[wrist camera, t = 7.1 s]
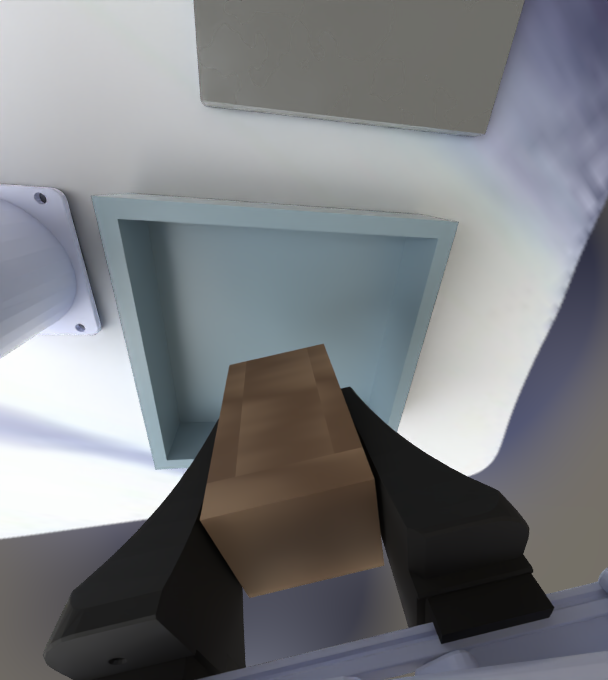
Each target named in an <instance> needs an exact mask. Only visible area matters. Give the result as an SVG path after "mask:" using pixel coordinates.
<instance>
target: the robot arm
mask: <svg viewBox="0 0 608 680" xmlns="http://www.w3.org/2000/svg"><path fill="white" fill-rule="evenodd" d="M40 193H42V194H43V195H44V196H45V197H46V200H47V202H46V203H44V202H42V201H41V199H40ZM79 324H82V325H83V326H84V327H85V329H82V328H81V327H80V326H79ZM100 330H101V323H100V320H99V316H98V312H97V308H96V305H95V301H94V297H93V294H92V290H91V286H90V283H89V279H88V275H87V271H86V268H85V264H84V260H83V257H82V253H81V249H80V246H79V242H78V238H77V234H76V231H75V227H74V223H73V220H72V216H71V212H70V209H69V205H68V201H67V198H66V196H65V195H64V194H63V192H62V191H60V190H58V189H56V188H50V187H36V186H23V185H9V184H0V359H1V358H2V357H4V356H5V355H7V354H8V353H10V352H11V351H13V350H14V349H16V348H17V347H19V346H20V345H22V344H23V343H25V342H26V341H28V340H29V339H31V338H32V337H34V336H35V335H95V334H97V333H98V332H99V331H100ZM341 391H342V394H343V396H344V399H345V402H346V404H347V407H348V410H349V412H350V415H351V418H352V420H353V423H354V426H355V428H356V431H357V434H358V436H359V439H360V442H361V444H362V447H363V450H364V452H365V455H366V458H367V460H368V463H369V466H370V468H371V471H372V474H373V476H374V479H375V488H376V497H377V506H378V515H379V524H380V532H381V536H382V540H383V543H384V546H385V550H386V553H387V556H388V559H389V563H390V566H391V569H392V572H393V576H394V580H395V583H396V586H397V590H398V593H399V596H400V600H401V603H402V607H403V610H404V614H405V617H406V620H407V624H408V627H409V628H406V629H402V630H398V631H394V632H390V633H386V634H382V635H378V636H374V637H369V638H365V639H361V640H357V641H353V642H349V643H345V644H340V645H336V646H332V647H329V648H324V649H320V650H316V651H312V652H307V653H304V654H299V655H295V656H291V657H287V658H283V659H279V660H275V661H271V662H266V663H262V664H258V665H254V666H250V667H246V665H245V647H244V626H243V625H244V624H243V592H242V585H241V584H240V582H239V581H238V579H237V578H236V576H235V574H234V573H233V571H232V570H231V568H230V567H229V565H228V564H227V562H226V560H225V559H224V557H223V556H222V554H221V553H220V551H219V549H218V548H217V546H216V545H215V543H214V542H213V540H212V539H211V537H210V535H209V534H208V532H207V531H206V529H205V528H204V526H203V524H202V523H201V521H200V516H201V511H202V506H203V500H204V495H205V490H206V485H207V479H208V474H209V469H210V464H211V458H212V453H213V448H214V443H215V437H216V432H217V427H218V422H219V419H218V420H217V422H216V424H215V425H214V427H213V429H212V431H211V432H210V434H209V436H208V438H207V439H206V441H205V443H204V444H203V446H202V448H201V449H200V451H199V452H198V454H197V456H196V457H195V459H194V460H193V462H192V463H191V465H190V466H189V468H188V469H187V471H186V472H185V474H184V475H183V477H182V478H181V479H180V481H179V482H178V484H177V485H176V486H175V488H174V489H173V490H172V492H171V493H170V494H169V495H168V497H167V498H166V499H165V500H164V502H163V503H162V504H161V505H160V506H159V507H158V509H157V510H156V511H155V512H154V513H153V514H152V515H151V516H150V517H149V519H148V520H147V521H146V522H145V523H144V524H143V525H142V527H141V528H140V529H139V530H138V531H137V532H136V533H135V534H134V535H133V536H132V537H131V538H130V539H129V540H128V541H127V542H126V543H125V544H124V545H123V546H122V547H121V548H120V549H119V550H118V551H117V552H116V553H115V554H114V555H113V556H112V557H110V559H108V561H106V562H105V563H104V564H103V565H102V566H101V567H100V568H98V569H97V570H96V571H95V572H94V573H93V574H92V575H91V576H89V577H88V578H87V579H86V580H85V581H84V582H83V583H82V584H81V585H79V586H78V587H77V588H76V589H75V590H73V592H72V593H71V595H70V597H69V599H68V601H67V604H66V605H65V607H64V610H63V611H62V614H61V616H60V618H59V620H58V622H57V624H56V626H55V628H54V631H53V633H52V635H51V637H50V639H49V642H48V643H47V646H46V648H45V650H44V654H43V657H44V659H45V661H46V663H47V665H49V666H50V667H51V668H52V669H54V670H56V671H58V672H60V673H61V674H63V675H65V676H67V677H69V678H71V679H73V680H384V679H388V678H392V677H396V676H400V675H404V674H408V673H412V672H415V676H411V677H403V678H395V679H388V680H608V568H606V569H605V570H604V571H603V572H602V573H601V574H600V576H599V580H598V582H595V583H591V584H587V585H583V586H578V587H574V588H571V589H566V590H562V591H558V592H554V593H550V594H545V593H544V591H543V590H542V589H541V587H540V586H539V584H538V583H537V581H536V580H535V578H534V577H533V575H532V574H531V573H533V569H532V566H531V565H530V564H529V562H528V561H527V559H526V558H525V556H524V555H523V553H524V550H525V547H526V544H527V541H528V537H529V527H528V525H527V523H526V521H525V520H524V519H523V518H522V516H521V515H520V514H519V513H518V511H517V510H516V509H515V508H514V507H513V506H512V504H511V503H510V502H509V501H508V500H507V499H506V498H505V497H504V496H503V495H502V494H501V493H500V492H499V491H498V490H496V489H494V488H492V487H490V486H487V485H485V484H483V483H481V482H478V481H476V480H474V479H472V478H470V477H467V476H465V475H463V474H462V473H460V472H458V471H456V470H454V469H452V468H450V467H448V466H447V465H445V464H443V463H442V462H440V461H438V460H437V459H435V458H433V457H432V456H430V455H428V454H426V453H425V452H423V451H422V450H420V449H419V448H417V447H416V446H414V445H413V444H412V443H410V442H409V441H408V440H406V439H405V438H403V437H402V436H401V435H400V434H398V433H397V432H396V431H395V430H393V429H392V428H391V427H390V426H389V425H387V424H386V423H385V422H384V421H383V420H382V419H381V418H380V417H378V416H377V415H376V414H375V413H374V412H373V411H372V410H371V409H370V408H369V407H368V406H367V405H366V404H365V403H364V402H363V400H362V399H361V398H360V397H359V396H358V395H357V394H356V392H355V391H354V390H353V388H351V387H345V388H341Z"/></svg>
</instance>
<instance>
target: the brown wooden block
mask: <svg viewBox="0 0 608 680" xmlns="http://www.w3.org/2000/svg"><path fill="white" fill-rule="evenodd" d="M200 521H201V523H202V524H203V526H204V528H205V529H206V531H207V532H208V534H209V535H210V537H211V539H212V540H213V542H214V543H215V545H216V546H217V548H218V549H219V551H220V553H221V554H222V556H223V557H224V559H225V560H226V562H227V564H228V565H229V567H230V568H231V570H232V571H233V573H234V574H235V576H236V578H237V579H238V581H239V582H240V584H241V585H242V587H243V589H244V590H245V592H246V593H247V595H248V596H249V597H250V598H251V597H255V596H259V595H264V594H268V593H272V592H276V591H280V590H284V589H288V588H293V587H297V586H301V585H305V584H309V583H313V582H317V581H322V580H326V579H330V578H334V577H338V576H343V575H347V574H351V573H355V572H359V571H363V570H368V569H371V568H376V567H380V566H384V559H383V550H382V541H381V532H380V524H379V515H378V506H377V497H376V488H375V479H374V476H373V474H372V471H371V468H370V466H369V463H368V460H367V458H366V455H365V452H364V450H363V447H362V444H361V442H360V439H359V436H358V434H357V431H356V428H355V426H354V423H353V420H352V418H351V415H350V412H349V410H348V407H347V404H346V402H345V399H344V396H343V394H342V391H341V388H340V386H339V383H338V380H337V378H336V375H335V372H334V370H333V367H332V364H331V362H330V359H329V356H328V354H327V351H326V348H325V346H324V344H320V345H315V346H311V347H306V348H302V349H298V350H293V351H289V352H284V353H280V354H276V355H271V356H267V357H262V358H258V359H254V360H249V361H245V362H240V363H236V364H232V365H229V369H228V374H227V380H226V385H225V390H224V395H223V401H222V406H221V411H220V416H219V422H218V427H217V432H216V437H215V443H214V448H213V453H212V458H211V464H210V469H209V474H208V479H207V485H206V490H205V495H204V500H203V506H202V511H201V516H200Z"/></svg>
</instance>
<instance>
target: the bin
mask: <svg viewBox="0 0 608 680" xmlns="http://www.w3.org/2000/svg"><path fill="white" fill-rule="evenodd" d="M91 197H92V202H93V206H94V210H95V214H96V219H97V223H98V227H99V231H100V236H101V240H102V244H103V248H104V253H105V257H106V261H107V265H108V270H109V274H110V278H111V282H112V287H113V291H114V295H115V299H116V304H117V308H118V312H119V316H120V321H121V325H122V329H123V333H124V338H125V342H126V346H127V351H128V355H129V359H130V363H131V368H132V372H133V376H134V380H135V385H136V389H137V393H138V397H139V402H140V406H141V410H142V414H143V419H144V423H145V427H146V431H147V436H148V440H149V444H150V448H151V453H152V457H153V461H154V465H155V470H157V469H177V468H189V466H190V465H191V463H192V462H193V460H194V459H195V457H196V456H197V454H198V452H199V451H200V449H201V448H202V446H203V444H204V443H205V441H206V439H207V438H208V436H209V434H210V432H211V431H212V429H213V427H214V425H215V424H216V422H217V420H218V419H219V416H220V411H221V406H222V401H223V395H224V390H225V385H226V380H227V374H228V369H229V365H232V364H236V363H240V362H245V361H249V360H254V359H258V358H262V357H267V356H271V355H276V354H280V353H284V352H289V351H293V350H298V349H302V348H306V347H311V346H315V345H320V344H324V346H325V348H326V351H327V354H328V356H329V359H330V362H331V364H332V367H333V370H334V372H335V375H336V378H337V380H338V383H339V386H340V388H345V387H351V388H353V390H354V391H355V392H356V394H357V395H358V396H359V397H360V398H361V399H362V400H363V402H364V403H365V404H366V405H367V406H368V407H369V408H370V409H371V410H372V411H373V412H374V413H375V414H376V415H377V416H378V417H380V418H381V419H382V420H383V421H384V422H385V423H386V424H387V425H389V426H390V427H391V428H392V429H393V430H395V431H396V432H397V430H398V426H399V423H400V420H401V416H402V413H403V409H404V406H405V403H406V399H407V396H408V393H409V389H410V386H411V382H412V379H413V376H414V372H415V369H416V365H417V362H418V359H419V355H420V352H421V348H422V345H423V342H424V338H425V335H426V331H427V328H428V325H429V321H430V318H431V315H432V311H433V308H434V304H435V301H436V298H437V294H438V291H439V287H440V284H441V281H442V277H443V274H444V270H445V267H446V264H447V260H448V257H449V253H450V250H451V247H452V243H453V240H454V237H455V233H456V230H457V226H458V223H459V222H457V221H451V220H446V219H441V218H436V217H431V216H426V215H420V214H408V213H394V212H381V211H367V210H354V209H340V208H326V207H313V206H299V205H285V204H272V203H258V202H245V201H231V200H217V199H204V198H190V197H176V196H163V195H149V194H135V193H126V194H111V195H96V196H91Z"/></svg>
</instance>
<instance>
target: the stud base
mask: <svg viewBox="0 0 608 680" xmlns="http://www.w3.org/2000/svg"><path fill="white" fill-rule="evenodd" d="M524 1H525V0H194V13H195V27H196V41H197V55H198V69H199V83H200V98H201V102H202V103H203V104H204V106H211V107H219V108H228V109H236V110H245V111H254V112H262V113H271V114H279V115H288V116H297V117H305V118H314V119H322V120H331V121H340V122H348V123H357V124H365V125H374V126H383V127H391V128H400V129H408V130H417V131H426V132H434V133H443V134H451V135H460V136H469V137H475V136H479V135H484V134H485V133H486V129H487V126H488V123H489V119H490V116H491V112H492V109H493V106H494V102H495V99H496V95H497V92H498V89H499V85H500V82H501V79H502V75H503V72H504V68H505V65H506V62H507V58H508V55H509V51H510V48H511V45H512V41H513V38H514V35H515V31H516V28H517V24H518V21H519V18H520V14H521V11H522V7H523V4H524Z"/></svg>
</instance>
